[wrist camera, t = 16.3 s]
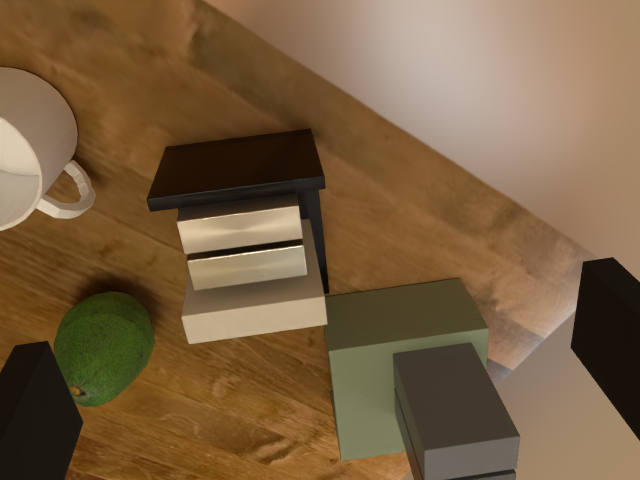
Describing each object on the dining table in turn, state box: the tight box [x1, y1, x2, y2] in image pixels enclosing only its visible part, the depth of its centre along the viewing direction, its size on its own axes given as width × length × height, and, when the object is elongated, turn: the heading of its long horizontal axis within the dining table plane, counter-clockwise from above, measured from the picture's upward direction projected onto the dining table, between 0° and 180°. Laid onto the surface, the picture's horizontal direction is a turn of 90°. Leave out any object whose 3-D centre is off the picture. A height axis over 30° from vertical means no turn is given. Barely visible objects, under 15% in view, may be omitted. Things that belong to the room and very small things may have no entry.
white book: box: [181, 219, 328, 344], centre depth 46 cm, size 10×2×12 cm, turn 96°
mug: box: [0, 67, 96, 231], centre depth 42 cm, size 12×9×9 cm
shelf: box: [323, 278, 520, 480], centre depth 52 cm, size 14×14×18 cm
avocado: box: [54, 291, 155, 407], centre depth 49 cm, size 8×8×12 cm
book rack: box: [147, 129, 329, 294], centre depth 46 cm, size 12×16×12 cm
